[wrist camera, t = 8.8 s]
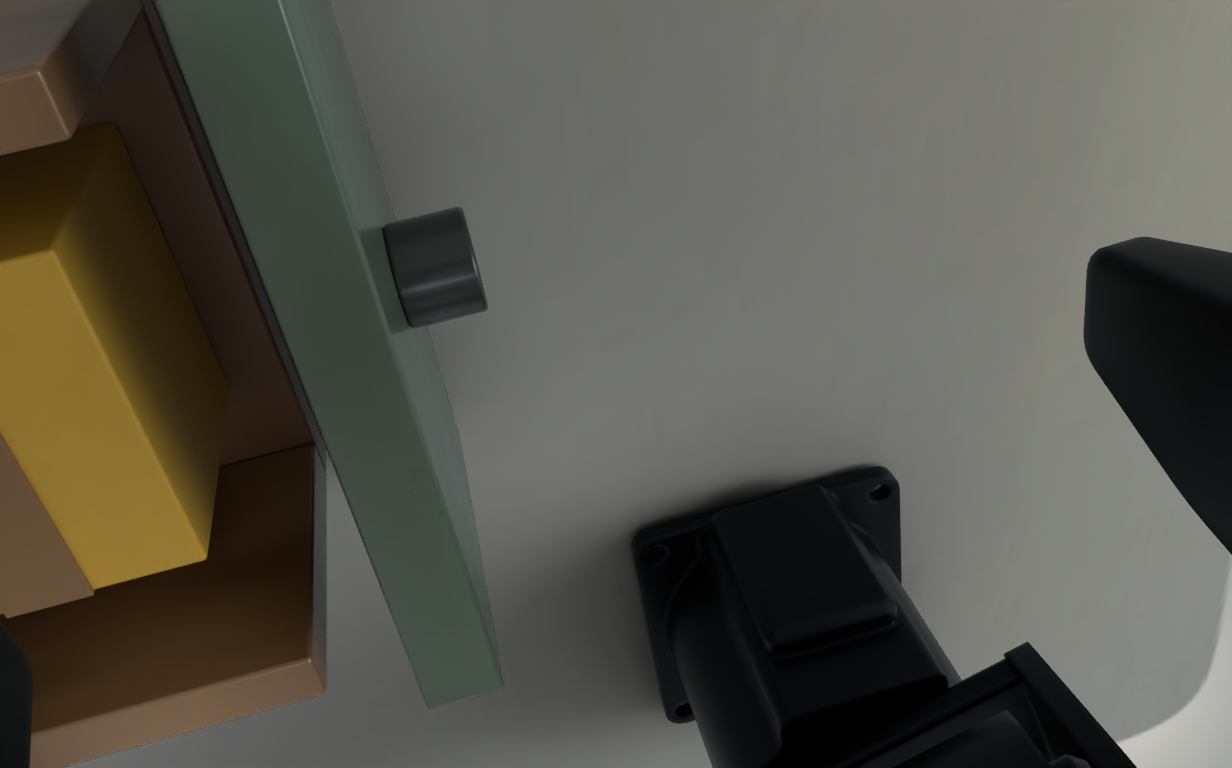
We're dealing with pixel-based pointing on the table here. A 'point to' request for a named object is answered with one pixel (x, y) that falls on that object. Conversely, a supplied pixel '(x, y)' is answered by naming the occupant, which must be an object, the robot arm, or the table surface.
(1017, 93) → the table surface
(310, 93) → the drawer
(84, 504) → the small carton
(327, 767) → the table surface
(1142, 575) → the table surface
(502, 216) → the table surface
